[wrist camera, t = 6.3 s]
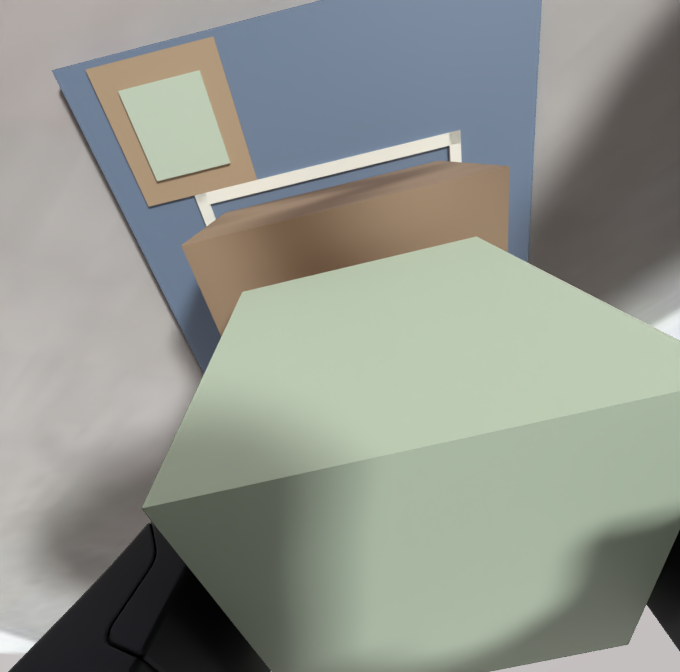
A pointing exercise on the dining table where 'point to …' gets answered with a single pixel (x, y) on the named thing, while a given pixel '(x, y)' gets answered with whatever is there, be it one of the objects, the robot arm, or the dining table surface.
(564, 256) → the dining table surface
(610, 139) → the dining table surface
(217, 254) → the walnut base block
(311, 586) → the sage cube
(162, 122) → the board
